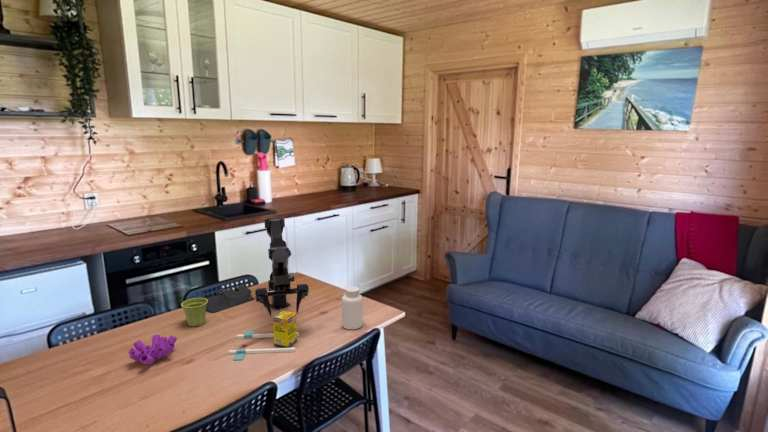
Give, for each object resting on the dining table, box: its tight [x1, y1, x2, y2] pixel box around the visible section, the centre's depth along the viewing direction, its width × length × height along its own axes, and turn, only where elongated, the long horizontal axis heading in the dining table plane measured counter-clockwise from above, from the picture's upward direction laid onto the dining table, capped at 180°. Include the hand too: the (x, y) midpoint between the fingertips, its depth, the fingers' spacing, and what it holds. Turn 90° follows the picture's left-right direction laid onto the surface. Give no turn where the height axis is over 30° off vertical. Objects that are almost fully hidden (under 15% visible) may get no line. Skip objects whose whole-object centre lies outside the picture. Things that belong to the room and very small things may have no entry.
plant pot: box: [180, 297, 208, 327], centre depth 164 cm, size 9×9×9 cm
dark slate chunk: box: [206, 284, 255, 314], centre depth 185 cm, size 15×22×5 cm
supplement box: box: [272, 310, 298, 348], centre depth 149 cm, size 6×6×11 cm
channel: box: [228, 330, 300, 362], centre depth 149 cm, size 22×20×1 cm
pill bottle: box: [341, 286, 364, 330], centre depth 162 cm, size 8×8×15 cm
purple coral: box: [128, 334, 178, 365], centre depth 139 cm, size 11×15×10 cm
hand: (284, 314), depth 150 cm, fingers open, 9 cm apart
